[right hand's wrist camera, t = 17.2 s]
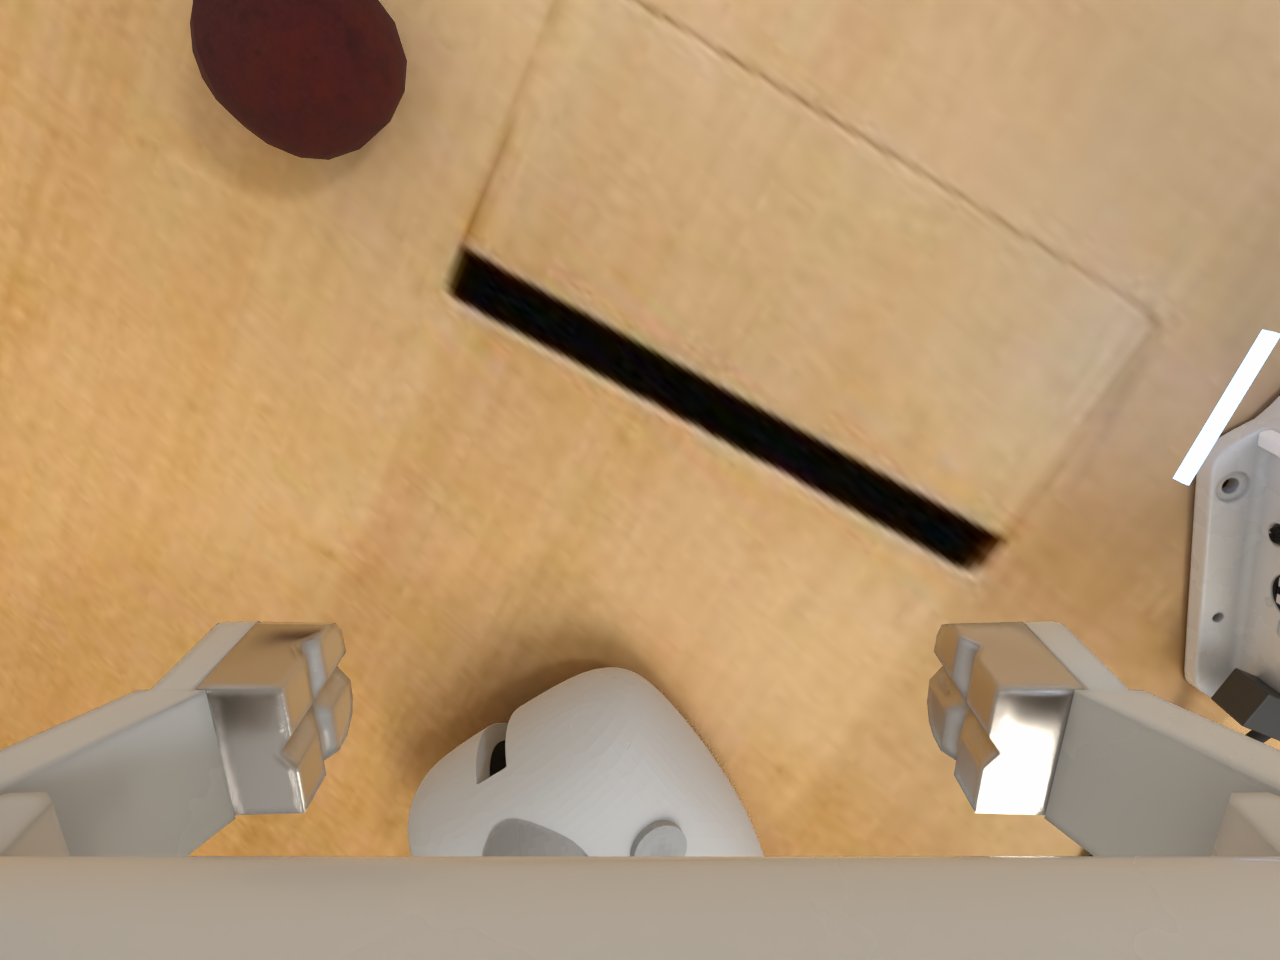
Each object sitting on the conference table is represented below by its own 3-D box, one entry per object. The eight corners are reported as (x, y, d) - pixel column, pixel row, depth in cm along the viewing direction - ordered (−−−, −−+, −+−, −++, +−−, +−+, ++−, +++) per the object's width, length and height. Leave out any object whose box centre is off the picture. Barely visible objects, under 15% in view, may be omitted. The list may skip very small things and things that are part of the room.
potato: (233, -23, 32) (128, -81, 26) (415, -27, 32) (356, -87, 26) (266, 164, 35) (178, 156, 28) (434, 161, 35) (386, 151, 28)
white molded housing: (428, 915, 51) (349, 1180, 37) (434, 617, 43) (337, 813, 29) (754, 942, 52) (795, 1211, 38) (819, 655, 44) (900, 863, 30)
